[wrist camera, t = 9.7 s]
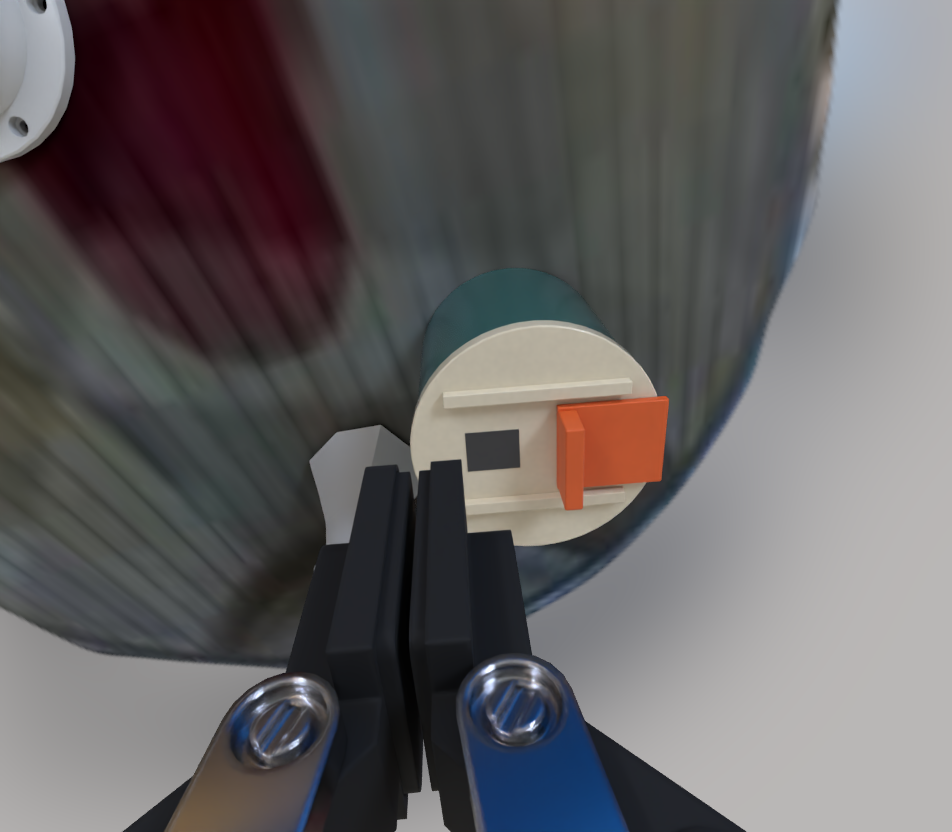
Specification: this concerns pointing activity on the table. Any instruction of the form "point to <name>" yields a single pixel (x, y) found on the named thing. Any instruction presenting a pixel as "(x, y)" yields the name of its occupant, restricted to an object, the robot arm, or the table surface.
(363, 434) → the flask
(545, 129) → the table surface
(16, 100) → the robot arm
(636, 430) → the slider
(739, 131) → the table surface
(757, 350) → the table surface
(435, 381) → the sliding lid canister
